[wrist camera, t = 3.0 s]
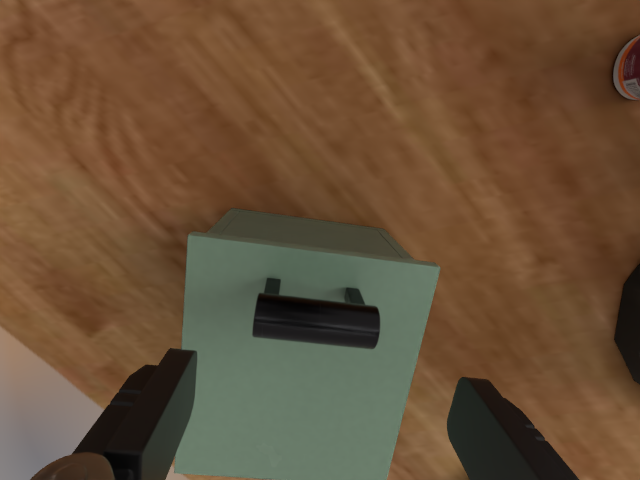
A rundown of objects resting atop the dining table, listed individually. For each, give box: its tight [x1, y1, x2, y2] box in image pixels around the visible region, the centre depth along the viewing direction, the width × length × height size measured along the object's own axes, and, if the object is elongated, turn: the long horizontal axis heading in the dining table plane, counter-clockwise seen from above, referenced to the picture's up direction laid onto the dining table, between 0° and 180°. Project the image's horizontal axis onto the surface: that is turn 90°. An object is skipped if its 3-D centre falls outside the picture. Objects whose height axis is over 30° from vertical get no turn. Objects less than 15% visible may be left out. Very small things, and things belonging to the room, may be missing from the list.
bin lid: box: [174, 231, 440, 480], centre depth 17 cm, size 14×13×5 cm
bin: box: [207, 208, 414, 260], centre depth 25 cm, size 14×13×11 cm
